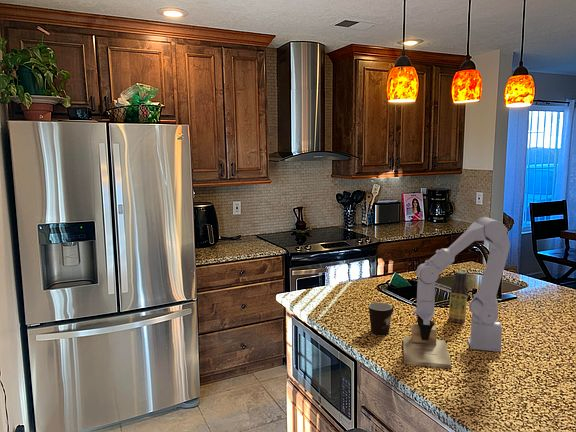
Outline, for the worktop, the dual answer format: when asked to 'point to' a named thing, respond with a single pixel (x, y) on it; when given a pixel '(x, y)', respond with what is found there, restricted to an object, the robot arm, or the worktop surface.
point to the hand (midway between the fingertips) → (424, 337)
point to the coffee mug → (380, 318)
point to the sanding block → (417, 336)
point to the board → (426, 354)
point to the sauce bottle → (458, 298)
